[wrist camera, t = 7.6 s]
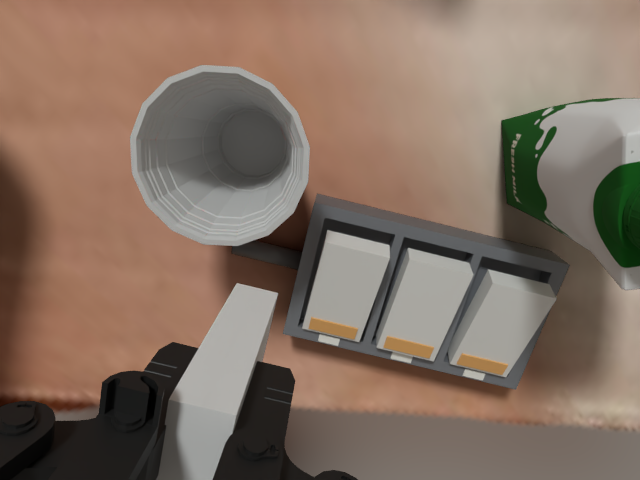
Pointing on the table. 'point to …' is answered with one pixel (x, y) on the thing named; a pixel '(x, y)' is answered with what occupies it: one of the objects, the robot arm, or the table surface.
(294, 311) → the grey compartment tray
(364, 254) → the rocker
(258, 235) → the plastic cup
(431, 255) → the rocker
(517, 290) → the rocker
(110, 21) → the table surface
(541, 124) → the milk carton
